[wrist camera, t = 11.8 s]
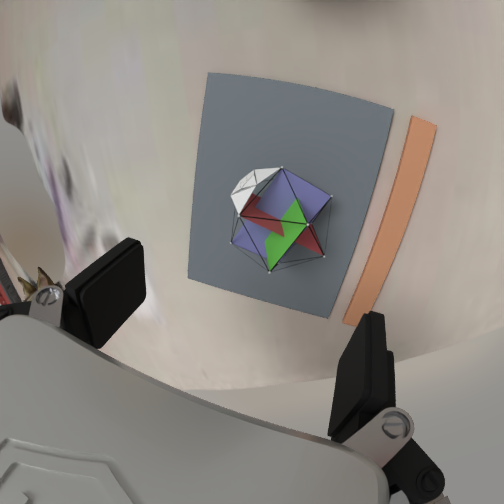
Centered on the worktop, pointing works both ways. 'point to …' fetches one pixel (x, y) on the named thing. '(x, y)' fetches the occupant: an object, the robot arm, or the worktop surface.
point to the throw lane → (311, 170)
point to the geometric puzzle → (277, 215)
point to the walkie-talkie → (7, 288)
